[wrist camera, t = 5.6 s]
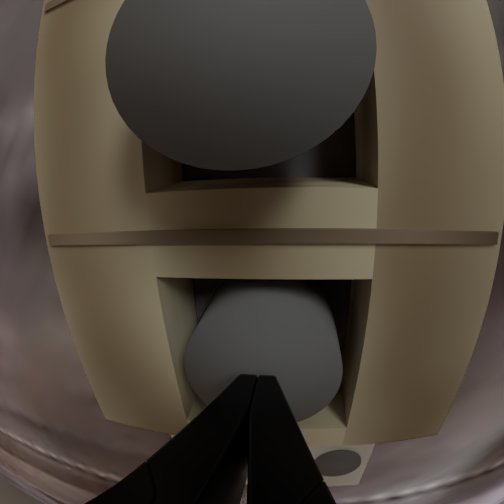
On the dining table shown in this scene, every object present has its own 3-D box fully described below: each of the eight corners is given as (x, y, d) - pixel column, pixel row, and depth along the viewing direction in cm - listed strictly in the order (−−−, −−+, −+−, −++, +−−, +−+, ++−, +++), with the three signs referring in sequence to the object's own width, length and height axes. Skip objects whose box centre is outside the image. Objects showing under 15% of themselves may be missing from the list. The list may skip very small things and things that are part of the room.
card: (378, 418, 11) (383, 440, 10) (357, 475, 13) (359, 495, 11) (169, 410, 12) (159, 430, 11) (189, 467, 14) (182, 485, 13)
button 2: (337, 264, 9) (351, 307, 7) (328, 372, 10) (333, 427, 8) (202, 264, 10) (172, 303, 7) (215, 368, 11) (196, 419, 8)
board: (398, -113, 4) (411, -146, 1) (420, 390, 10) (437, 436, 8) (109, -88, 6) (80, -113, 3) (131, 380, 12) (104, 421, 10)
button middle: (339, -3, 5) (355, -64, 3) (351, 162, 6) (384, 170, 4) (166, 11, 6) (114, -34, 3) (170, 168, 7) (109, 181, 4)
